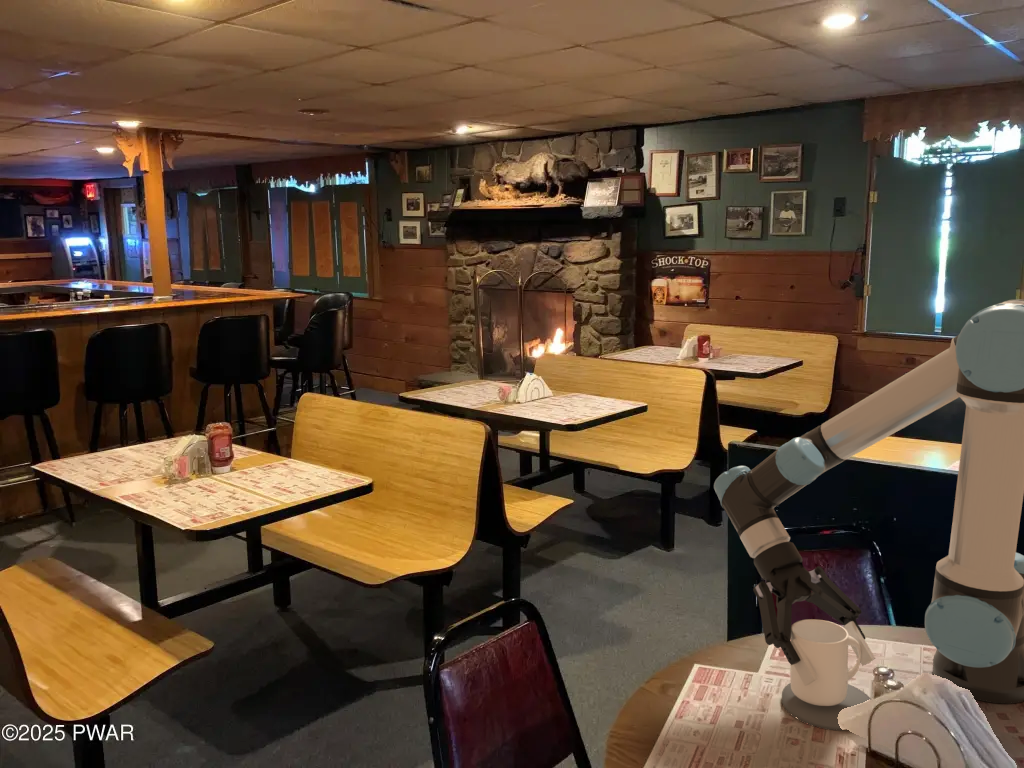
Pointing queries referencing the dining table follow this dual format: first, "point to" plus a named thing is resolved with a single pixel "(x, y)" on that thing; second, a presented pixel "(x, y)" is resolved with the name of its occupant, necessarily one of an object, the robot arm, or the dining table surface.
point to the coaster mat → (821, 707)
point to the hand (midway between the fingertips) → (840, 672)
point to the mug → (823, 661)
